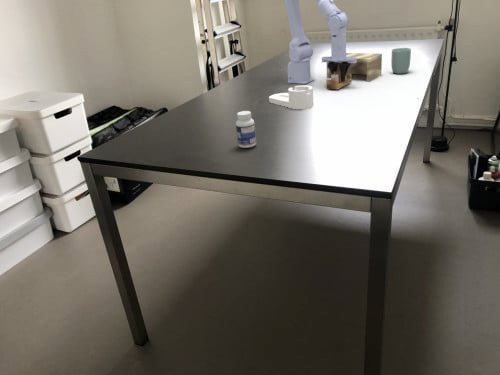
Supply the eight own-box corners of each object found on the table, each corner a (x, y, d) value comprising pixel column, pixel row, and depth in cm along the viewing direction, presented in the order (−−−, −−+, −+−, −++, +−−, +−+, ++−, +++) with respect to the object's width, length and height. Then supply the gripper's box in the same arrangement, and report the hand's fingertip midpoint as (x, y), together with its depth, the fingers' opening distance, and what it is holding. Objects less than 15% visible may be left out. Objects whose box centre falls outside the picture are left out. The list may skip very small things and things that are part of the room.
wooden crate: (326, 79, 196) (326, 58, 192) (340, 73, 204) (339, 52, 200) (369, 81, 184) (369, 59, 180) (381, 75, 192) (381, 53, 188)
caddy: (326, 88, 178) (326, 74, 176) (340, 81, 186) (340, 67, 184) (337, 89, 175) (337, 74, 173) (351, 82, 184) (351, 68, 181)
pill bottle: (237, 142, 133) (234, 111, 129) (255, 140, 133) (252, 109, 129) (238, 149, 128) (235, 116, 124) (257, 146, 128) (254, 114, 124)
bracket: (318, 105, 161) (317, 87, 158) (300, 111, 157) (299, 92, 154) (283, 97, 176) (282, 80, 173) (266, 102, 172) (264, 85, 169)
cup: (410, 74, 188) (412, 50, 184) (391, 75, 190) (392, 51, 186) (408, 70, 195) (409, 47, 191) (390, 71, 197) (391, 48, 193)
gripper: (317, 47, 176) (318, 81, 182) (350, 48, 167) (350, 84, 173) (326, 44, 181) (327, 78, 187) (359, 44, 172) (358, 79, 178)
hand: (339, 80), depth 180 cm, fingers closed on caddy, 3 cm apart
